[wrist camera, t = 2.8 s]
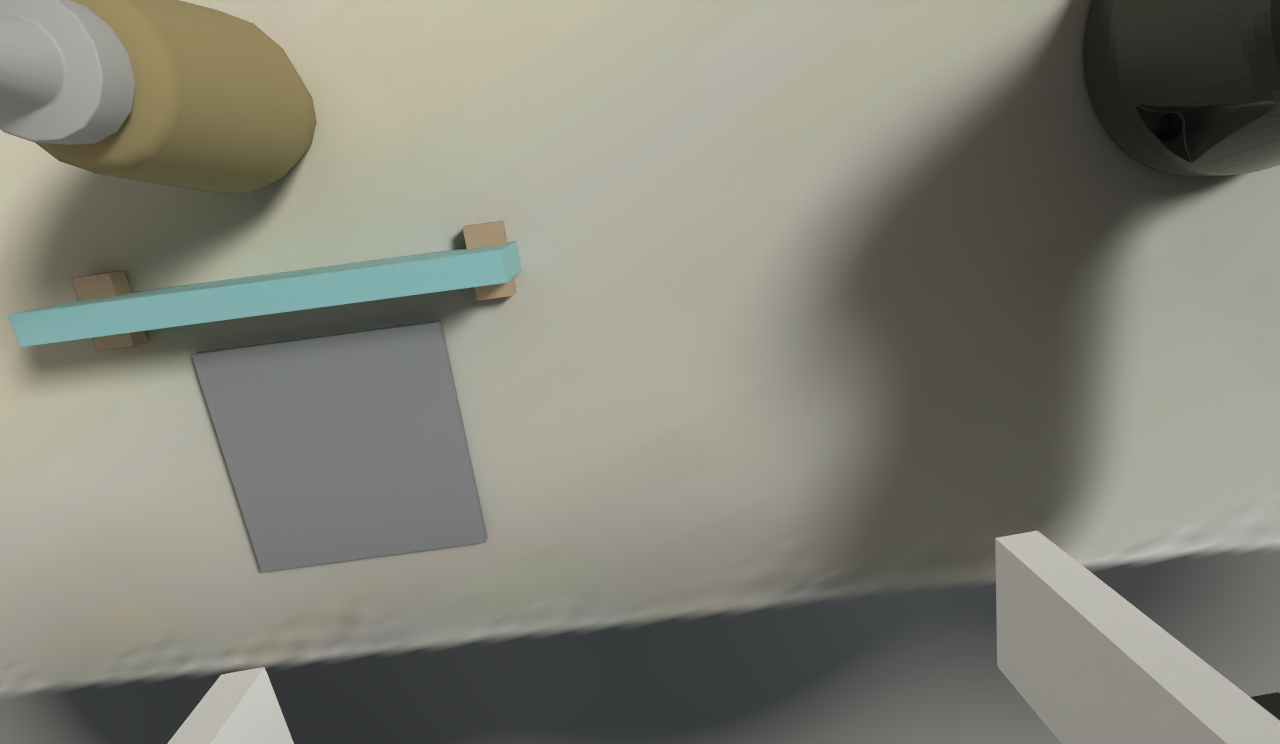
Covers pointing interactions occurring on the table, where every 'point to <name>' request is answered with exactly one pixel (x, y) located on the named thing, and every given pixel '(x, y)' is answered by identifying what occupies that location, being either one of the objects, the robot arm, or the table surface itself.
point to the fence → (268, 293)
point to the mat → (344, 445)
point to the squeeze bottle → (153, 92)
